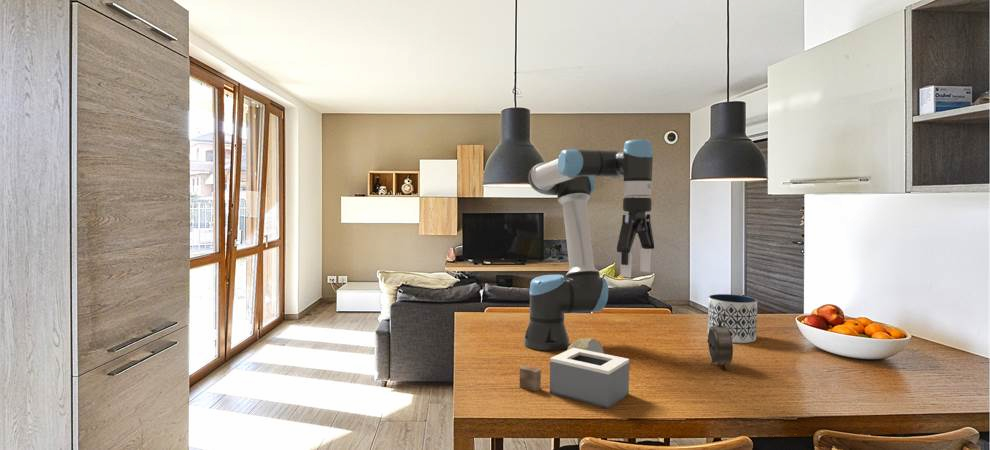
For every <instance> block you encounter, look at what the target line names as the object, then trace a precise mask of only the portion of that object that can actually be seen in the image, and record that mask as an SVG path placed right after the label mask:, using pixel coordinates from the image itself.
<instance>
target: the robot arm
mask: <svg viewBox="0 0 990 450" xmlns="http://www.w3.org/2000/svg"><path fill="white" fill-rule="evenodd" d="M653 158H654V153H653V142H652V141H650V140H648V139H629V140H627V141H625V142H624V144H623V150H600V149H599V150H598V149H597V150H596V149H595V150H594V149H593V150H592V149H590V150H589V149H575V148H574V149H573V148H572V149H563V150H562V151H561V152H560V154H559V156H558V158H556V159H554V160H551V161H549V162H545V161H544V162H539V163H537V164H534V166H533V167H531V169H530V170H529V173H528V175H527V177H528V178H527V179H528V183H529V186H530V187H531V188H532V189H533V190H534V191H536V192H537V193H540V194H543V195H547V196H556V197H557V202H558V203H559V204H561V206H562V211H563V220H564V228H565V229H564V230H565V231H564V232H565V240H566V249H567V256H568V257H567V258H568V267H569V269H568V271H567V273H566V274H565V276H564V274H563V275H562V274H546V275H544V274H543V275H540V276H536V277H534V278H532V280H531V281H530V285H529V322H528V325H527V329H526V331H525V334H524V338H523V339H524V340H523V344H524V346H525V347H527V348H528V349H529V348H530V349H533V350H538V351H546V352H547V351H561V350H565V349H568V346H569V345H570V338H569V335H568V331H567V328H566V325H565V314H576V313H577V314H578V313H579V314H581V313H588V314H590V313H595V312H600V311H602V310H604V308H605V307H606V305H607V302H608V299H609V284H608V282H607V280H606V278H604V277H602V276H601V274H600V270H599V269H597V268H596V267H595V262H594V253H593V245H592V239H591V229H590V221H589V220H590V219H589V214H588V213H589V212H588V205H587V202H588V201H589V200H590V198H591V195H592V194H593V193H594V190H595V185H596V184H595V182H596V181H595V177H599V178H602V177H605V178H607V177H609V178H614V179H615V178H618V179H620V178H623V181H622V183H623V185H622V186H623V187H622V195H623V197H624V198H623V199H622V211H624V212H627V214H623V215H622V219H621V220H622V222H621V227H620V231H619V236H618V241H617V244H616V245H617V246H616V252H617V253H620V271H619V272H620V274H619V277H621V278H629V279H630V278H632V259H633V258H632V257H633V256H632V252H631V249H632V247H633V244H634V241H635V239H636V235H637V237H638V239H639V242H640V244H641V245H640V246H641V248H640V255H639V256H640V257H639V259H640V261H639V263H640V264H639V271H640V272H643V273H651V260H652V258H651V257H652V255H651V252H652V251H651V250H653V249H655V242H654V241H655V240H654V235H653V229H652V223H651V214H646V212H651V211H652V197H651V198H650V196H652V189H653V188H654V185H653V180H652V179H653Z"/></svg>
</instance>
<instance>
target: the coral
mask: <svg viewBox="0 0 990 450" xmlns="http://www.w3.org/2000/svg"><path fill="white" fill-rule="evenodd" d="M571 348H578V349H583V350H588V351H593V352H598V353H602V354H605V353H604V348H603V346H602V344H601V342H600V341H598V340H597V339H595V338H594V337H593V338H592V337H588V338H585V337H581V338H577V339H576V340H575V341H572V343H571V344H569V346H568V347H567V348H566V349H567V350H569V349H571ZM567 350H566V351H567Z"/></svg>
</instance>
